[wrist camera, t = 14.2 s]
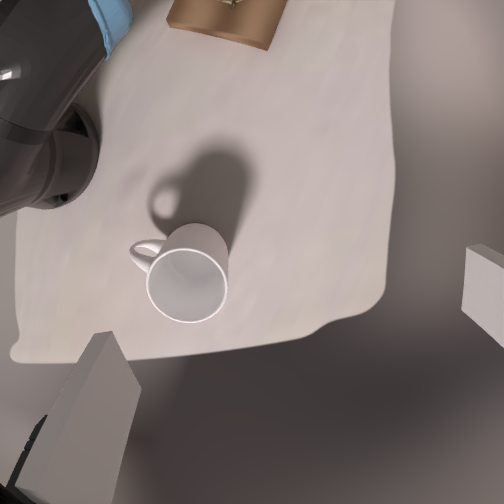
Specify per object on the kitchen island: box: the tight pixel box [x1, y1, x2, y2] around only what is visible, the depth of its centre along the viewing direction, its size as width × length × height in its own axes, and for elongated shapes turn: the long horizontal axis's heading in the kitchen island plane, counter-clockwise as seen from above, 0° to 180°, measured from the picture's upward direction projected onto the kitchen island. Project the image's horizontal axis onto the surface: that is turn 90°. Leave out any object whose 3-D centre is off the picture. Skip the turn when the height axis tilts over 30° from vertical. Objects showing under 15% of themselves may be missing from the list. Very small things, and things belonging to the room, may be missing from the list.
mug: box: [129, 223, 228, 323], centre depth 37 cm, size 9×12×11 cm
